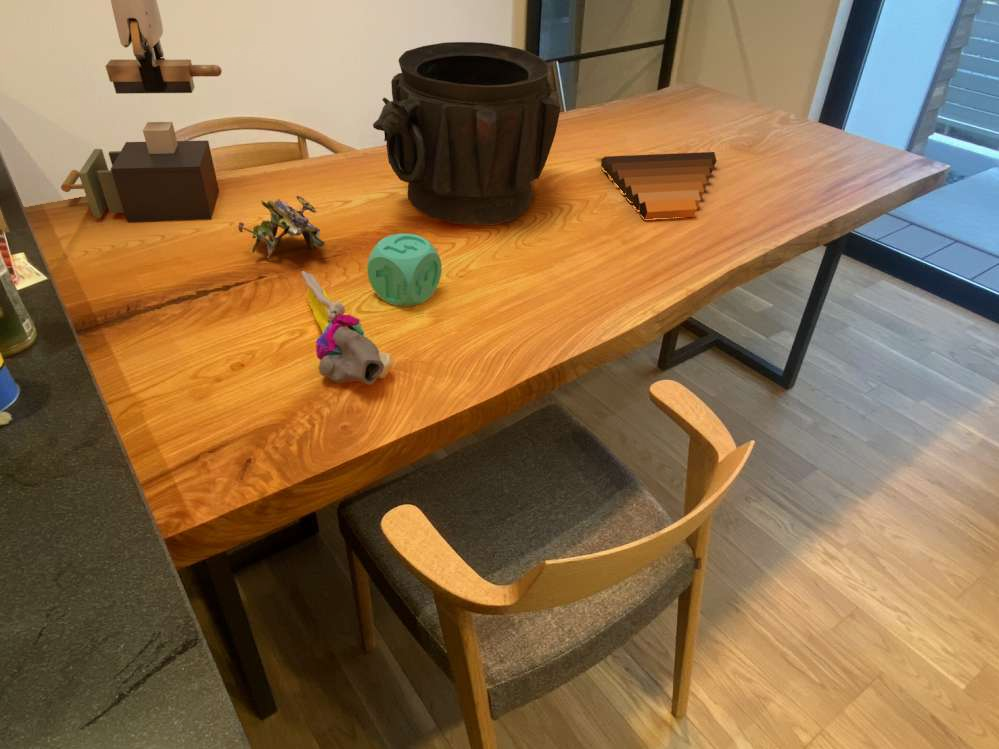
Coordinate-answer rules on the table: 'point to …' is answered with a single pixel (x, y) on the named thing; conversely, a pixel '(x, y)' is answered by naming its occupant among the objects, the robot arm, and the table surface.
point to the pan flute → (662, 181)
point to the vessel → (469, 129)
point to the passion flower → (285, 225)
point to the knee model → (343, 341)
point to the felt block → (160, 137)
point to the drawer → (97, 183)
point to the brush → (173, 74)
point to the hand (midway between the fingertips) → (157, 85)
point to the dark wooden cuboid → (166, 182)
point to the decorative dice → (404, 269)
